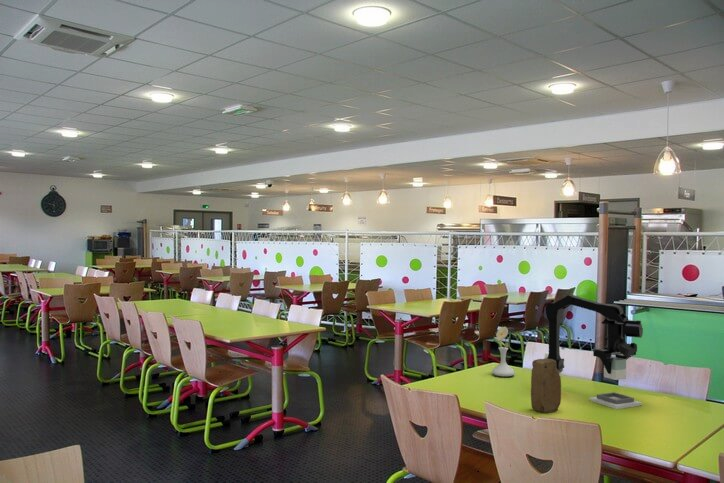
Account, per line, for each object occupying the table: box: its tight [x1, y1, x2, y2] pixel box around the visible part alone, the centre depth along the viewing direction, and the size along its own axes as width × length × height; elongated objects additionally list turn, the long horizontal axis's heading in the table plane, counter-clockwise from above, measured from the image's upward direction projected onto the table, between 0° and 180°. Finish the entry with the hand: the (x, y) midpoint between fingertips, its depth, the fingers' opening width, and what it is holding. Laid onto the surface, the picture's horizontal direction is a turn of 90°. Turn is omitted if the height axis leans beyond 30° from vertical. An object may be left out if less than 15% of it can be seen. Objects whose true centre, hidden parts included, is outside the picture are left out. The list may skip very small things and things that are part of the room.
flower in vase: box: [491, 326, 516, 377], centre depth 277 cm, size 13×11×25 cm
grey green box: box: [603, 356, 627, 381], centre depth 230 cm, size 6×6×8 cm
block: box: [530, 357, 562, 414], centre depth 219 cm, size 11×8×20 cm
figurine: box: [544, 348, 564, 376], centre depth 277 cm, size 7×9×15 cm
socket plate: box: [588, 391, 643, 410], centre depth 230 cm, size 14×14×3 cm
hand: (614, 372), depth 230 cm, fingers closed on grey green box, 6 cm apart
